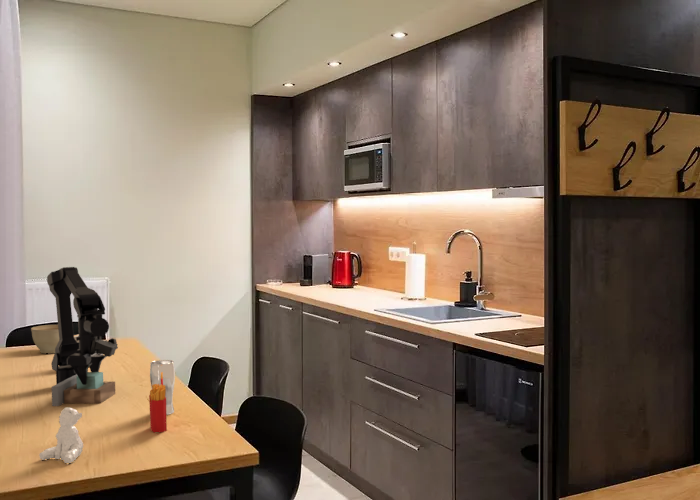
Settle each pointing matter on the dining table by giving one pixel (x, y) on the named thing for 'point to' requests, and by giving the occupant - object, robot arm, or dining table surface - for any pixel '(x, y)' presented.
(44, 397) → the dining table surface
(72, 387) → the brown square frame
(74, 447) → the sitting furry creature
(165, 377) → the beer glass
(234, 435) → the dining table surface
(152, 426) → the french fries
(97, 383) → the pale teal cube
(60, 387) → the slab
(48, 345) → the planter bowl
